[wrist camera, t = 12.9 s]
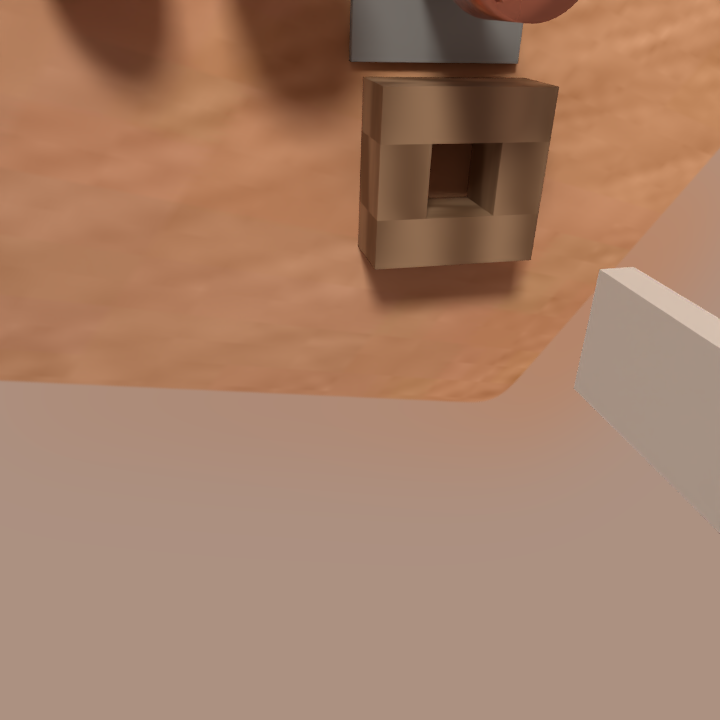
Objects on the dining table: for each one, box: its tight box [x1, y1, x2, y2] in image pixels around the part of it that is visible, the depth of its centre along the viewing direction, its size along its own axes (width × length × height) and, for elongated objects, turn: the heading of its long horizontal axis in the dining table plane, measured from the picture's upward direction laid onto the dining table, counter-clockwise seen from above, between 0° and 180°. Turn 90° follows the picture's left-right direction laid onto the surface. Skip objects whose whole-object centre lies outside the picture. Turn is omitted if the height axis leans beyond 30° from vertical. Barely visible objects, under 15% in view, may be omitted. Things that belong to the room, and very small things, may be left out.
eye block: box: [358, 77, 559, 270], centre depth 47 cm, size 12×12×5 cm
